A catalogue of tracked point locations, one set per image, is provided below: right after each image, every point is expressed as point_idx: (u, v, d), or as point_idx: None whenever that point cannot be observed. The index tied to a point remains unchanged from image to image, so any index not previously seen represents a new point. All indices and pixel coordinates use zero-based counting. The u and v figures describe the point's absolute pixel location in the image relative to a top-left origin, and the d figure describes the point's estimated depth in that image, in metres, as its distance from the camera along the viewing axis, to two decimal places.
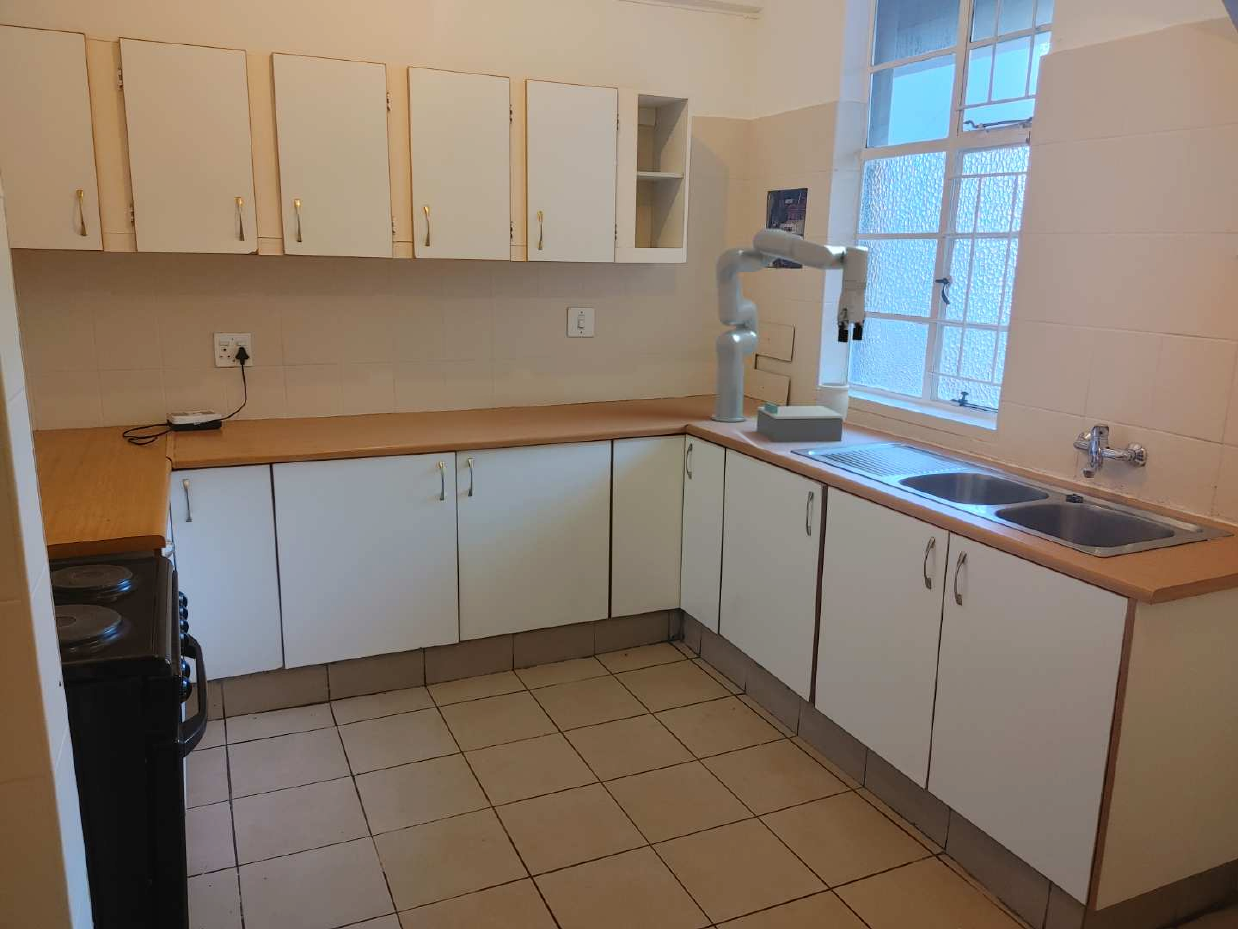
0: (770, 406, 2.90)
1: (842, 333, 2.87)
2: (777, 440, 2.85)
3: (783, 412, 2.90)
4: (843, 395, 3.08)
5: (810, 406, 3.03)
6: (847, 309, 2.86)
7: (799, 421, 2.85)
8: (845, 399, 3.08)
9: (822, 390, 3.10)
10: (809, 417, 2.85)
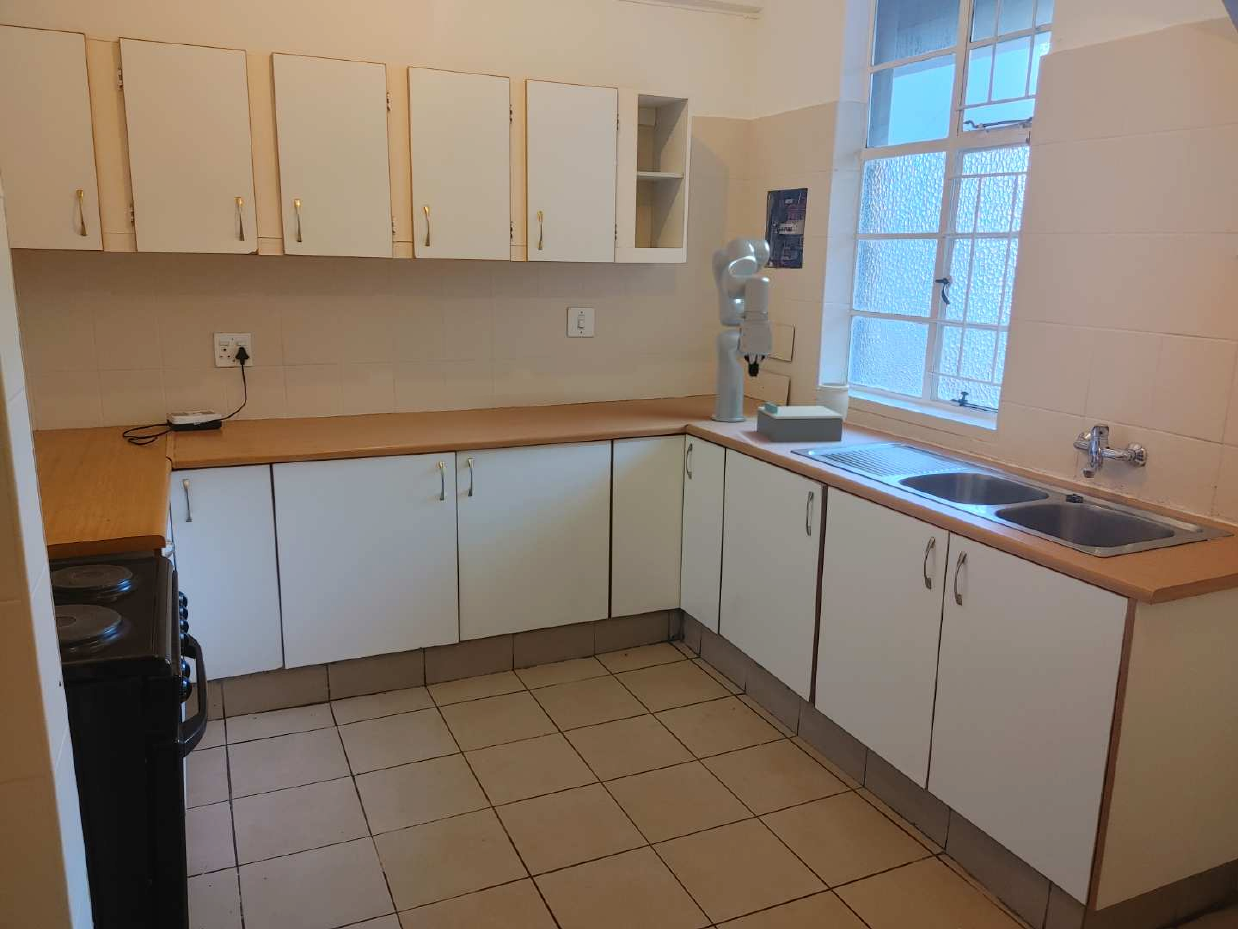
0: (770, 406, 2.90)
1: None
2: (777, 440, 2.85)
3: (783, 412, 2.90)
4: (843, 395, 3.08)
5: (810, 406, 3.03)
6: None
7: (799, 421, 2.85)
8: (845, 399, 3.08)
9: (822, 390, 3.10)
10: (809, 417, 2.85)
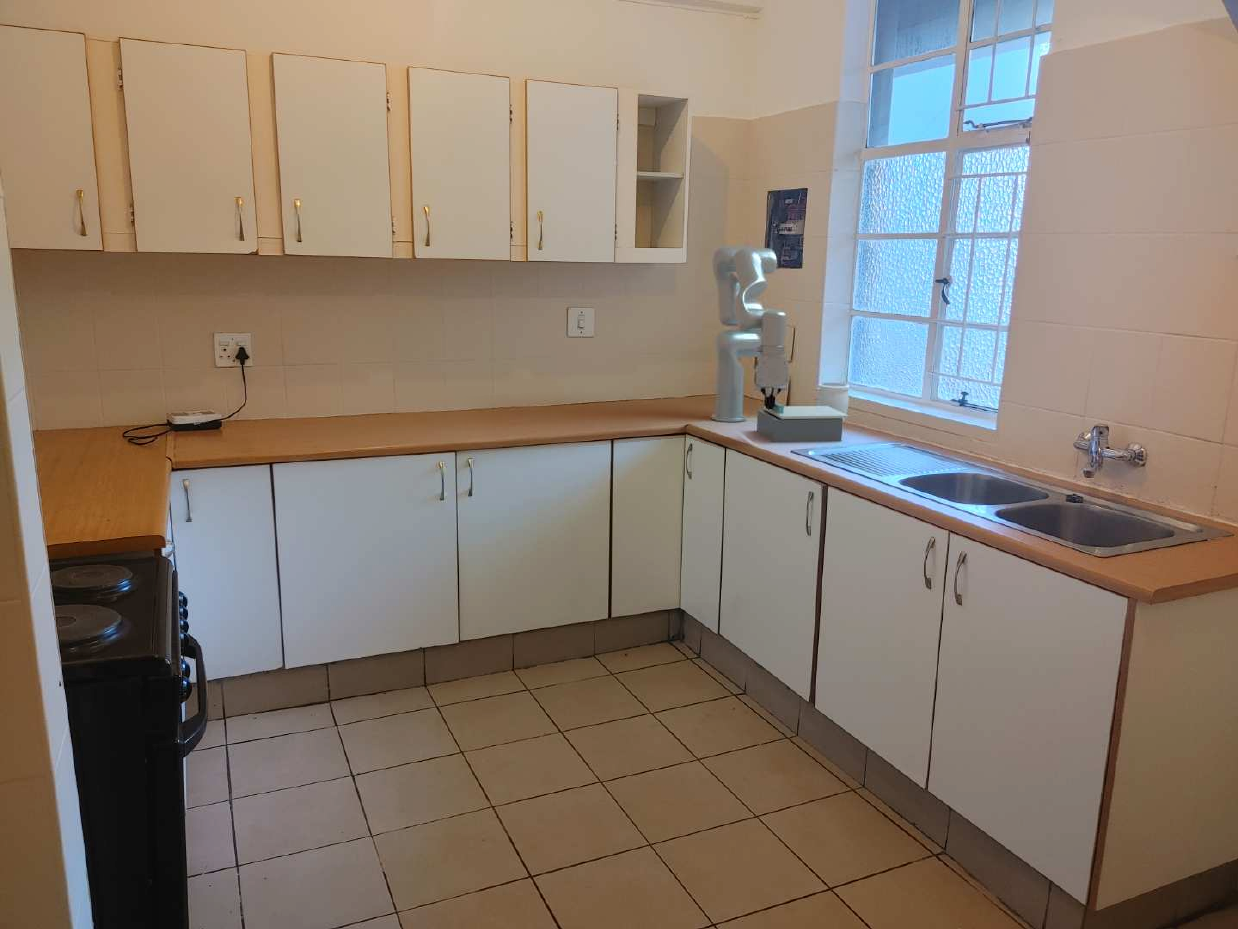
0: (776, 406, 2.90)
1: None
2: (777, 440, 2.85)
3: (789, 412, 2.91)
4: (843, 395, 3.08)
5: (816, 406, 3.03)
6: None
7: (799, 421, 2.85)
8: (845, 399, 3.08)
9: (822, 390, 3.10)
10: (815, 417, 2.85)
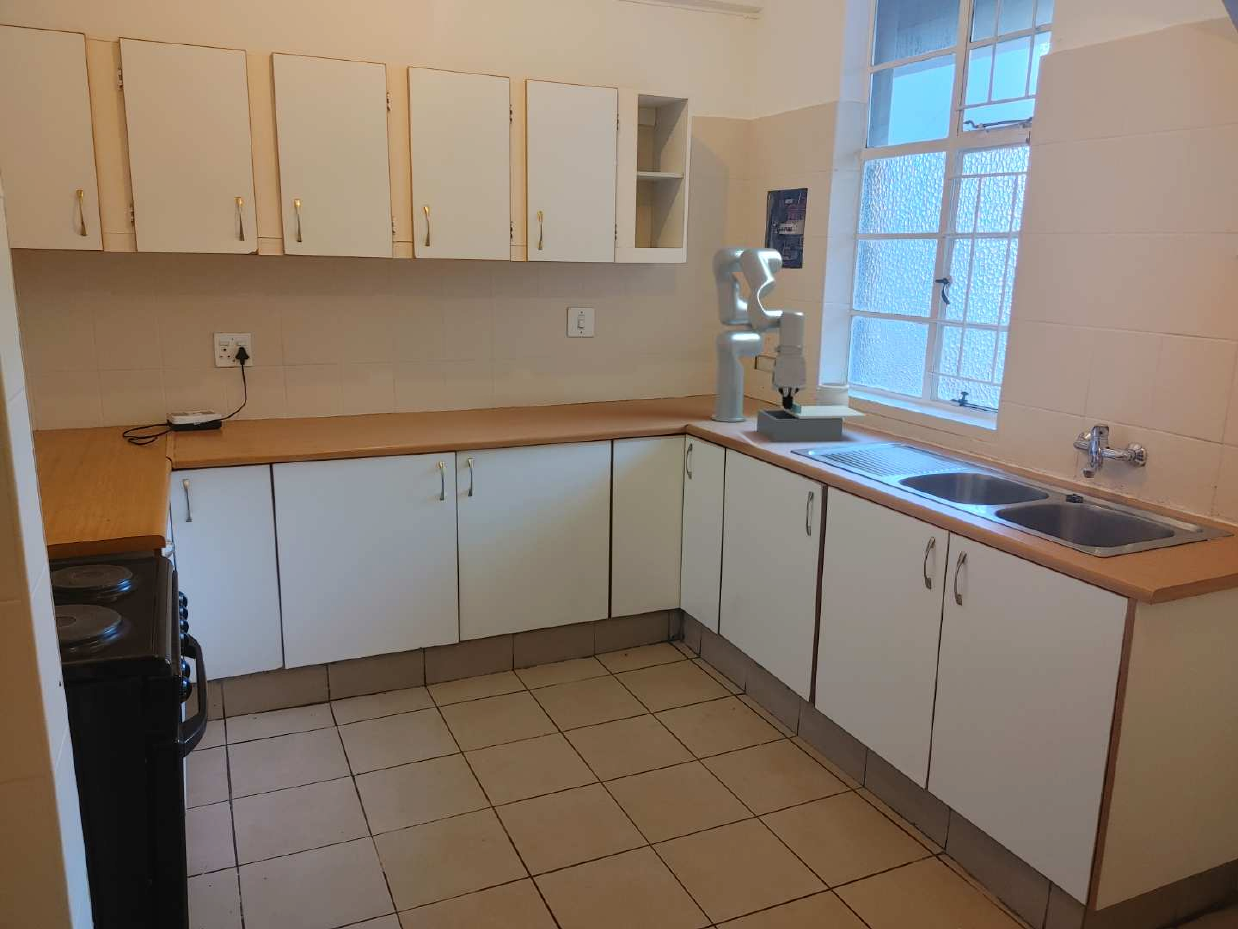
0: (794, 406, 2.91)
1: None
2: (777, 440, 2.85)
3: (807, 412, 2.92)
4: (843, 395, 3.08)
5: (833, 406, 3.04)
6: None
7: (799, 421, 2.85)
8: (845, 399, 3.08)
9: (822, 390, 3.10)
10: (833, 417, 2.86)
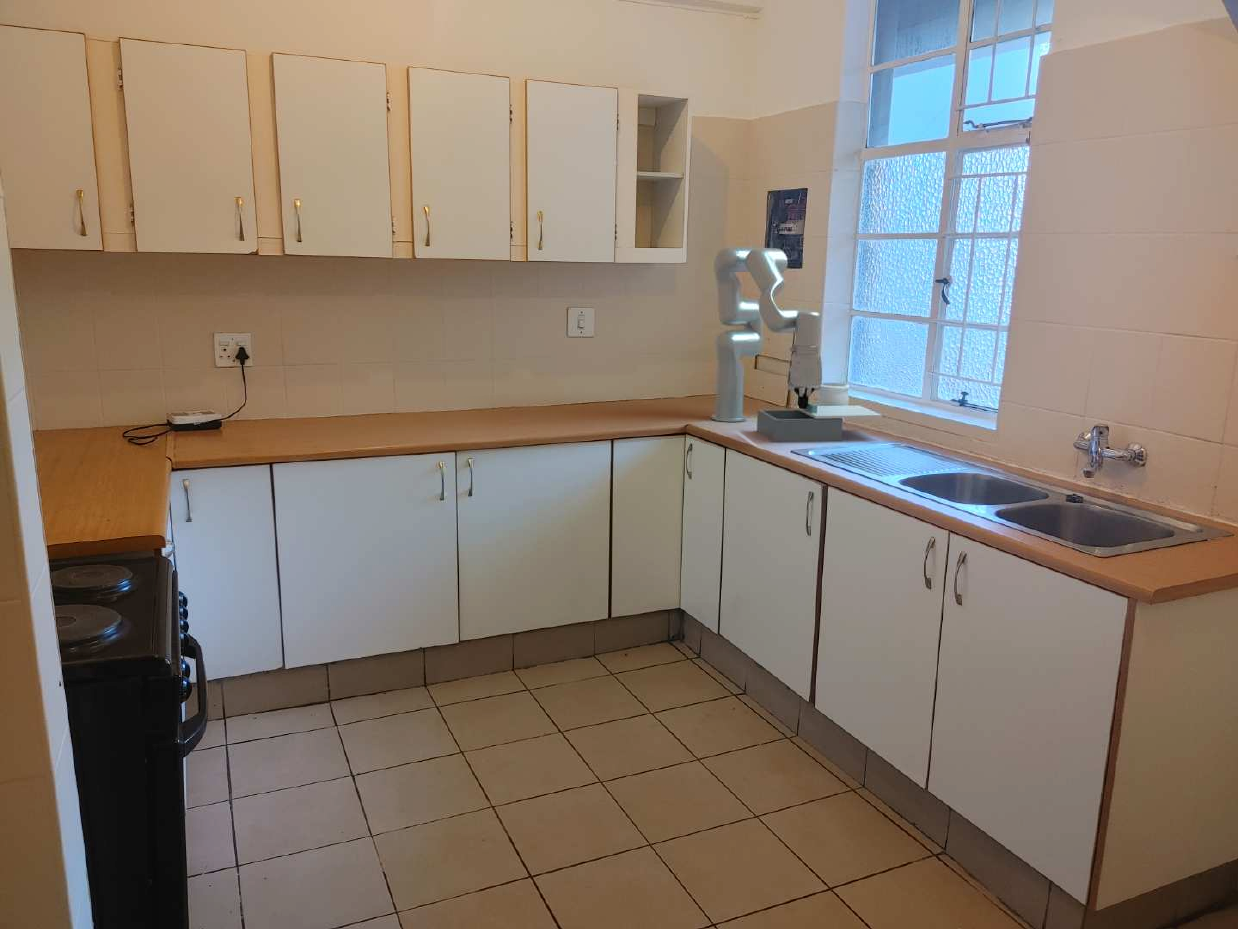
0: (809, 406, 2.92)
1: None
2: (777, 440, 2.85)
3: (822, 412, 2.92)
4: (843, 395, 3.08)
5: (847, 406, 3.05)
6: None
7: (799, 421, 2.85)
8: (845, 399, 3.08)
9: (822, 390, 3.10)
10: (849, 416, 2.87)
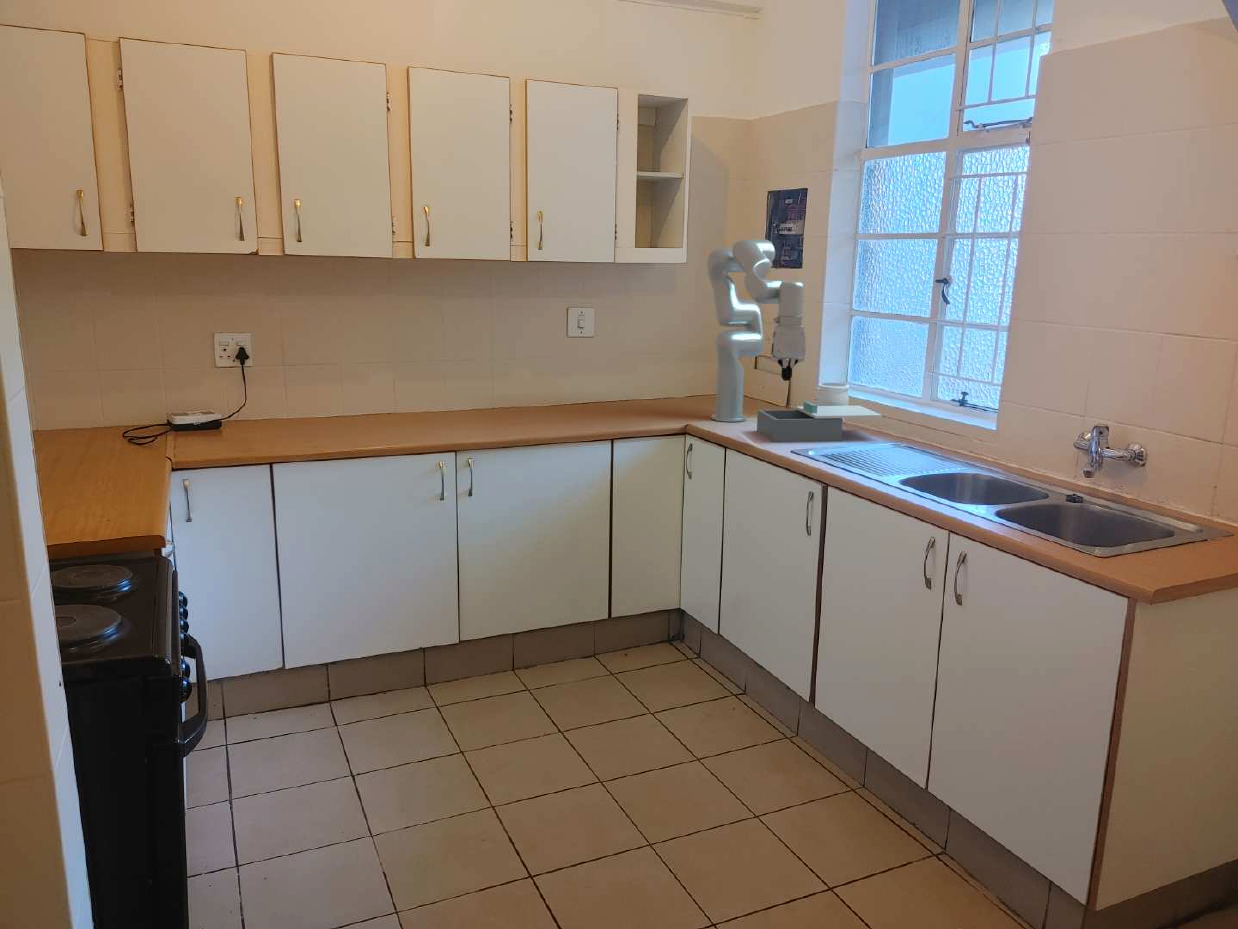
0: (809, 406, 2.92)
1: None
2: (777, 440, 2.85)
3: (822, 412, 2.92)
4: (843, 395, 3.08)
5: (847, 406, 3.05)
6: None
7: (799, 421, 2.85)
8: (845, 399, 3.08)
9: (822, 390, 3.10)
10: (849, 416, 2.87)
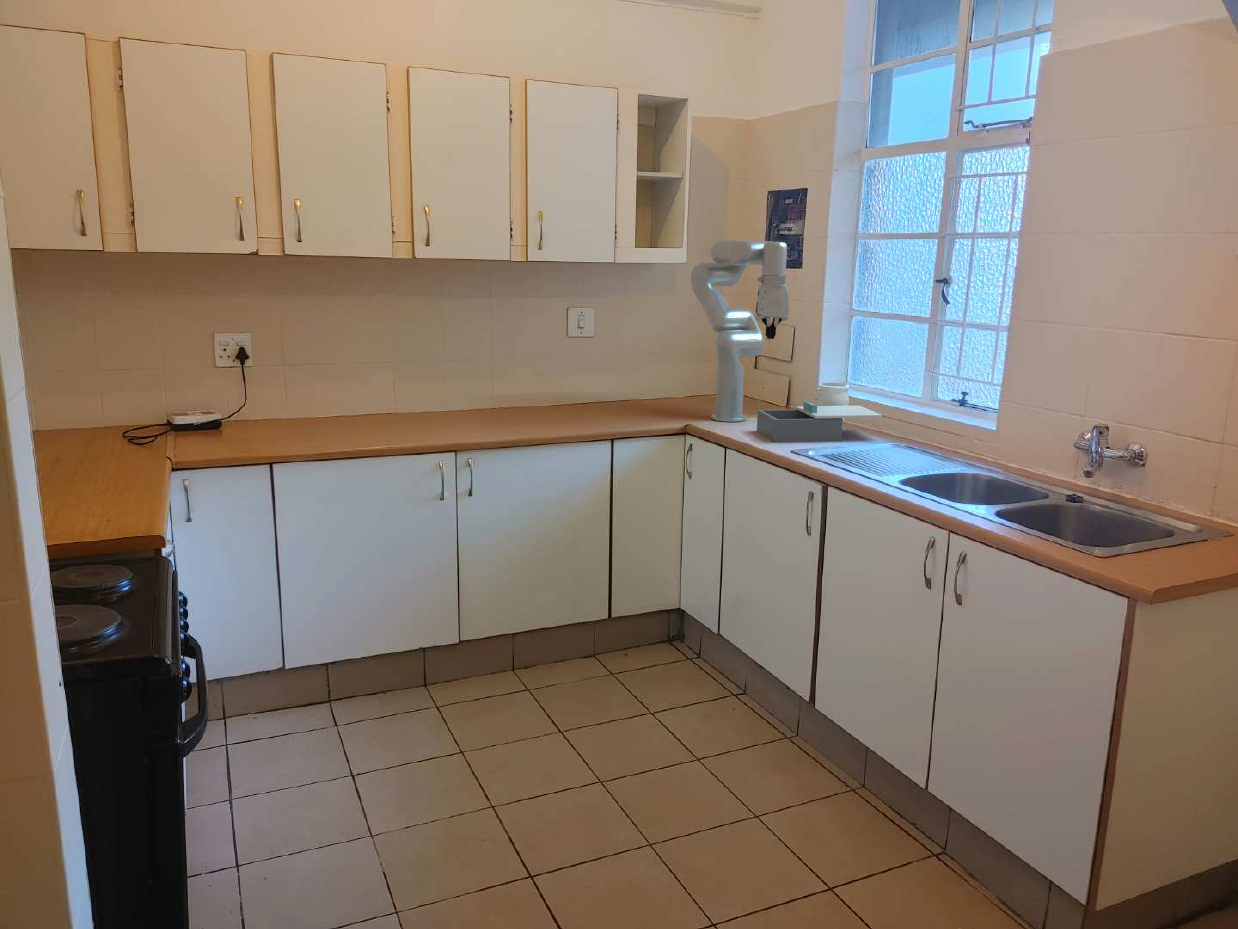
0: (809, 406, 2.92)
1: None
2: (777, 440, 2.85)
3: (822, 412, 2.92)
4: (843, 395, 3.08)
5: (847, 406, 3.05)
6: None
7: (799, 421, 2.85)
8: (845, 399, 3.08)
9: (822, 390, 3.10)
10: (849, 416, 2.87)
